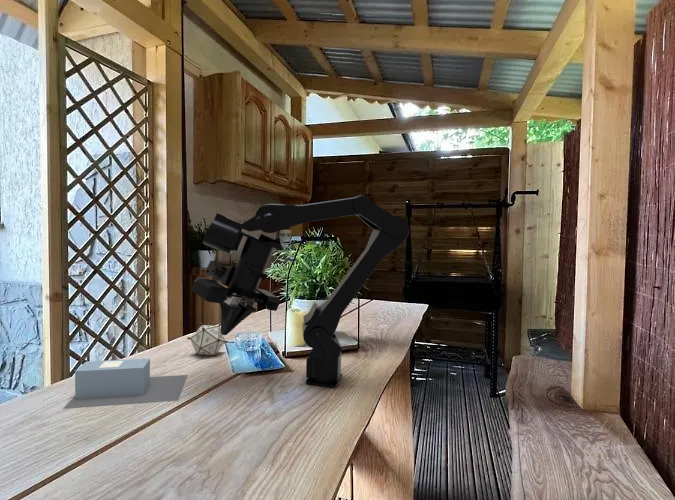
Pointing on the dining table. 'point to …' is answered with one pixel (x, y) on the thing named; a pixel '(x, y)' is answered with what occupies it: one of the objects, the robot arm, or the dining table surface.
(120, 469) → the dining table surface
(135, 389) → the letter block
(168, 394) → the mat
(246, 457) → the dining table surface
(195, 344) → the game die
